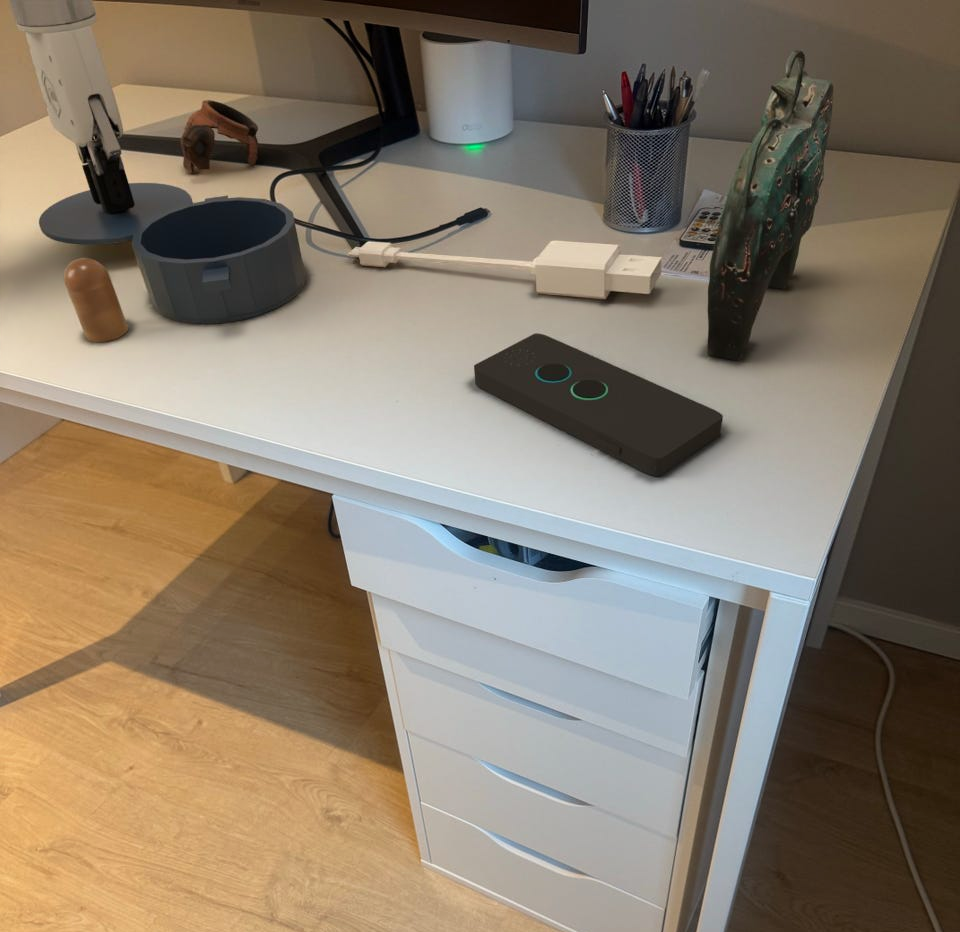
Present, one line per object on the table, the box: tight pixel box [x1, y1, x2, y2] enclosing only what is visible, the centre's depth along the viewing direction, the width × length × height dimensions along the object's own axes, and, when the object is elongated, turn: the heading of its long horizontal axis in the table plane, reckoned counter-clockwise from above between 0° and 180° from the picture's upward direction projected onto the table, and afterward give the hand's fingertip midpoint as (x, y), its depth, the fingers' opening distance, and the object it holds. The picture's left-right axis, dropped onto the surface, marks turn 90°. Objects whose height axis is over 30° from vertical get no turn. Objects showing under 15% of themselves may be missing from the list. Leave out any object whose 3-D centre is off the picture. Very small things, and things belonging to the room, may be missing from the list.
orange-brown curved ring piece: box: [180, 99, 260, 175], centre depth 116 cm, size 12×10×8 cm
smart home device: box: [473, 332, 724, 477], centre depth 72 cm, size 8×2×20 cm
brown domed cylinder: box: [63, 257, 129, 343], centre depth 84 cm, size 4×4×7 cm
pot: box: [131, 195, 306, 325], centre depth 90 cm, size 16×21×6 cm
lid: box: [38, 152, 194, 246], centre depth 99 cm, size 17×17×7 cm
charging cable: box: [347, 240, 663, 300], centre depth 89 cm, size 5×32×3 cm, turn 68°
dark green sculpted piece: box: [706, 49, 834, 361], centre depth 75 cm, size 20×6×20 cm, turn 152°
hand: (114, 203), depth 100 cm, fingers closed on lid, 2 cm apart
